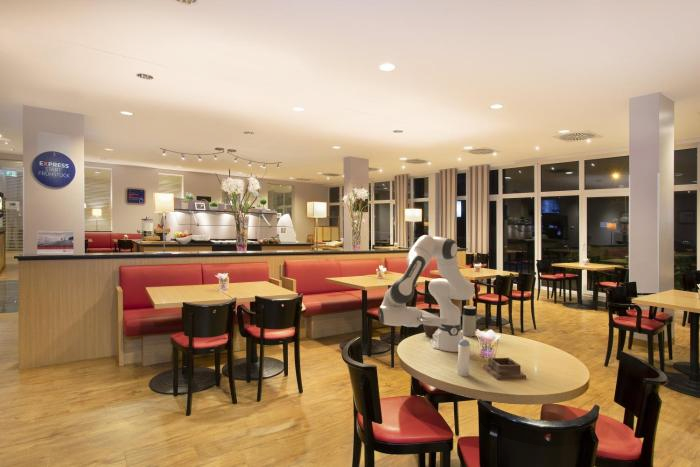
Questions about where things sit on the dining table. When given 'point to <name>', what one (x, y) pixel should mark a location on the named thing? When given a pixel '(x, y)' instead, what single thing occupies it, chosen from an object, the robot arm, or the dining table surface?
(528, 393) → the dining table surface
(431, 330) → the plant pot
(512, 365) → the cradle
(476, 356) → the dining table surface
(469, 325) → the travel mug
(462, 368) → the white bottle
